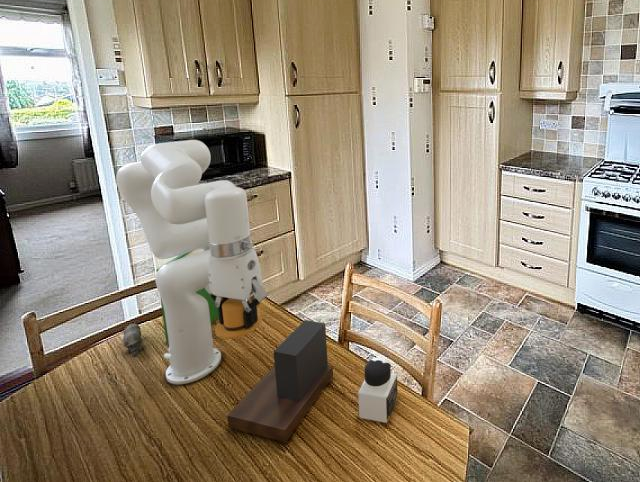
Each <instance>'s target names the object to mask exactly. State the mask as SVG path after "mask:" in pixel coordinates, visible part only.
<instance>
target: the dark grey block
mask: <svg viewBox="0 0 640 482" xmlns="http://www.w3.org/2000/svg"><path fill="white" fill-rule="evenodd" d="M327 345H328V344H327V331H326V323H324V322H319V321H314V320H307V319H304V320H303V321H302V322H301V323H300V324H299V325H298V326H297V327H296V328H295V329H294V330H293V331H292V332H291V333H290V334H289V335H288V336H287V337H286V338H285V339H284V340H283V341H282V342H281V343H280V344H279V345H278V346H277V347H276V348H275V349H274V350H273V361H274V362H273V363H274V365H275V375H276V387H277V397H282V398H286V399H290V400H295V401H300V400H301V399H302V397H303V396H304V395H305V393H306V392H307V391H308V390H309V388H310V387H311V386H312V384H313V383H314V382H315V380H316V379H317V378H318V376H319V375H320V374H321V373H322V371H323V370H324V369H325V367H326V366H327V365H329V364H328V363H329V362H328V361H329V360H328V348H327V347H328V346H327Z"/></svg>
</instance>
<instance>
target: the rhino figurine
mask: <svg viewBox="0 0 640 482" xmlns="http://www.w3.org/2000/svg"><path fill="white" fill-rule="evenodd" d="M122 337H123V338H122V341H123V346H124V347H125V348H126V349H127V350H126V351H125V353H127V354H131V355H132V357H133V358H137V357H138V356H139V354H140V351H142V349H143V347H142V346H141V343H142V340H143V339H142V331H141V327H140V325H139V324H137V323H130V324H129V325H127V327H125V328H124V330H123V336H122Z"/></svg>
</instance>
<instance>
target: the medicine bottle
mask: <svg viewBox="0 0 640 482" xmlns="http://www.w3.org/2000/svg"><path fill="white" fill-rule="evenodd" d="M391 367H392V366H391V362H390V361H389V359H387V358H385V357H381V356H378V357H374V358H371V359H370V360H368V362H366V364H365V366H364V380H363V382H362V384H361V386H360V387H359V389H358V391H357V395H358V398H357V399H358V418H360V419H364V420H368V421H373V422H379V423H384V424H388V423H389V421H390V418H391V416H392V413H393V411H394V409H395V406H396V404H397V401H398V398H399V397H398V374H397V373H393V372H391V371H392V370H391V369H392V368H391Z"/></svg>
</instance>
